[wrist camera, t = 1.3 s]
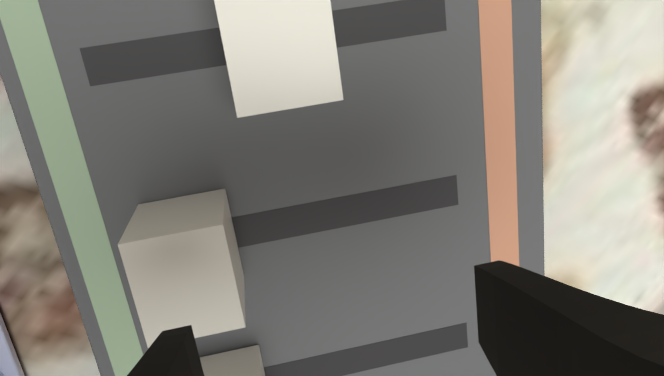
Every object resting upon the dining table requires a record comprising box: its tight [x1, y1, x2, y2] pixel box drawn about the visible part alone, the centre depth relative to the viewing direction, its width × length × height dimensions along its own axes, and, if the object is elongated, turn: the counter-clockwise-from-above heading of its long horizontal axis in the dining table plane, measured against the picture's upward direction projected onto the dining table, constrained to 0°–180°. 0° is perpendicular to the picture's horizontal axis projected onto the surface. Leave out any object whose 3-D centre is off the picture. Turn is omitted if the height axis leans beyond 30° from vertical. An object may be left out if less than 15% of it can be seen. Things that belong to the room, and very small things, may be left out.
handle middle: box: [118, 189, 246, 348], centre depth 18 cm, size 3×4×4 cm
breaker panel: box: [0, 0, 544, 376], centre depth 21 cm, size 18×20×2 cm
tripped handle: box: [214, 0, 343, 118], centre depth 16 cm, size 3×4×4 cm
